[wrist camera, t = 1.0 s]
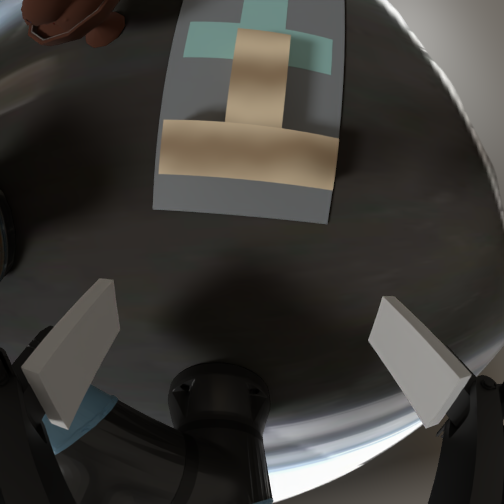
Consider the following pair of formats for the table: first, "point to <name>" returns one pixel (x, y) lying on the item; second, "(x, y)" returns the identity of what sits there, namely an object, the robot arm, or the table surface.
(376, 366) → the table surface
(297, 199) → the push board
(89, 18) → the ice cream bowl
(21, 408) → the robot arm
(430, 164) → the table surface
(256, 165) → the t block
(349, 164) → the table surface
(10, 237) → the beer stein
